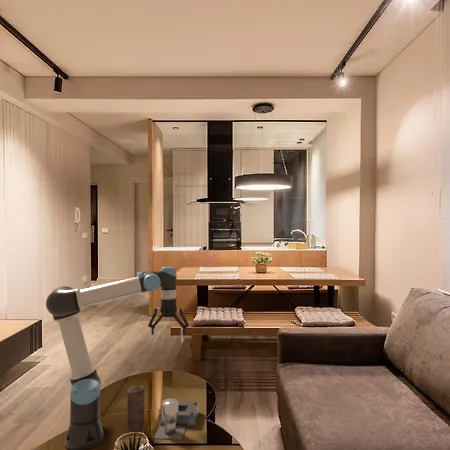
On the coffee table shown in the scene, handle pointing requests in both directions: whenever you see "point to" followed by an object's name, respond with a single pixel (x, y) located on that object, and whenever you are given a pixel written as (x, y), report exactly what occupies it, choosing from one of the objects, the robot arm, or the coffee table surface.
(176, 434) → the mat
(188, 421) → the housing
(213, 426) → the coffee table surface
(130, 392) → the candle
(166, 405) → the silver stepped plug
